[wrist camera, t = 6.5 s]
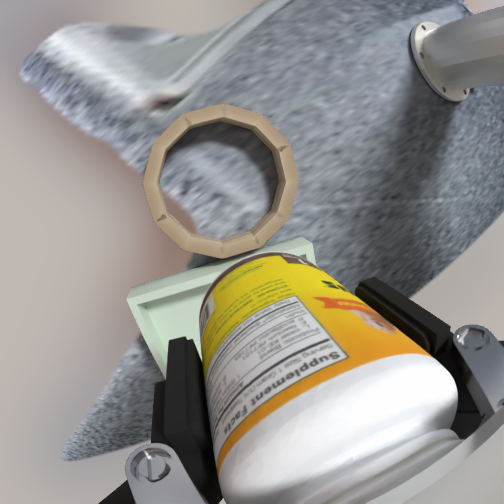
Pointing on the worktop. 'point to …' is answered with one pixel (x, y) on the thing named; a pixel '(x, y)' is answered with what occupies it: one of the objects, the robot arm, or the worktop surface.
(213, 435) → the supplement bottle
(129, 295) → the tray
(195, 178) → the worktop surface
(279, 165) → the collar
